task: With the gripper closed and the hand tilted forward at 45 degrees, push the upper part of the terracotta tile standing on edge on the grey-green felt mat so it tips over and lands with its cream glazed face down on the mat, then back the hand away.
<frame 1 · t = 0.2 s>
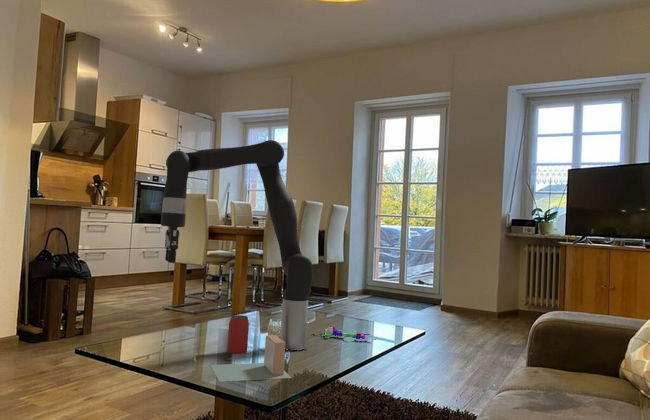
hand: (170, 261, 153), 29 cm above the table, tool pointing down, fingers open, 8 cm apart
building block set: (345, 338, 195), on the table
felt mat: (249, 373, 134), on the table
beer can: (236, 353, 156), on the table
tile: (273, 370, 137), point 1 cm above the table, touching felt mat
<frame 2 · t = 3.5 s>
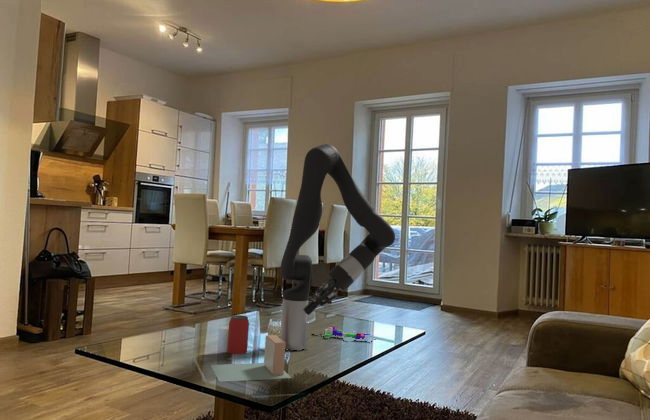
hand: (305, 312, 142), 17 cm above the table, tool tilted 45°, fingers closed
nothing on the table moved.
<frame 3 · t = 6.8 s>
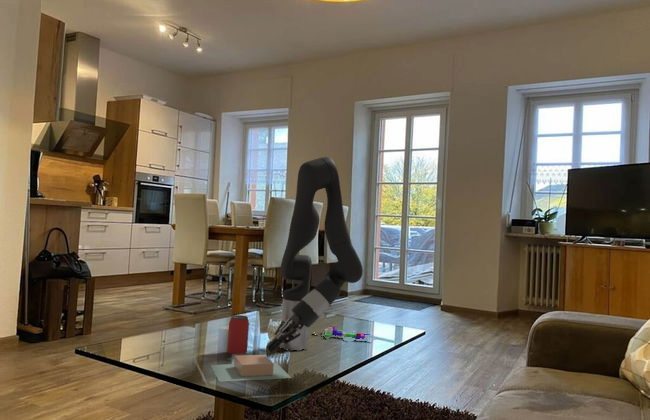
hand: (268, 350, 137), 6 cm above the table, tool tilted 45°, fingers closed
tile: (268, 364, 137), point 2 cm above the table, tilted 90°, touching felt mat
everything else where it was.
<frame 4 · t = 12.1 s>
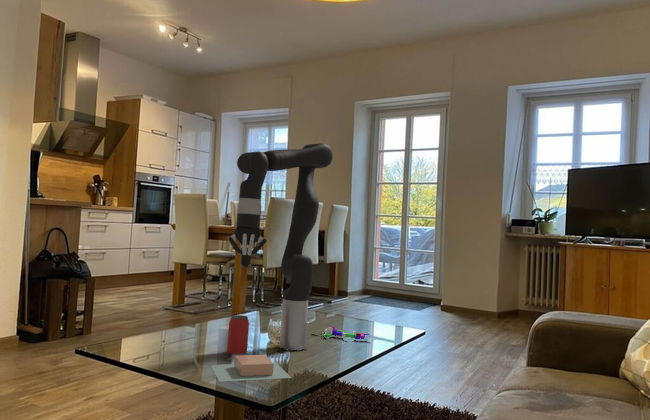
hand: (245, 267, 151), 29 cm above the table, tool pointing down, fingers closed
nothing on the table moved.
at the end: tile tilted 90°; tile inside the target area (5.4 cm from its centre), point 2.3 cm above the table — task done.
